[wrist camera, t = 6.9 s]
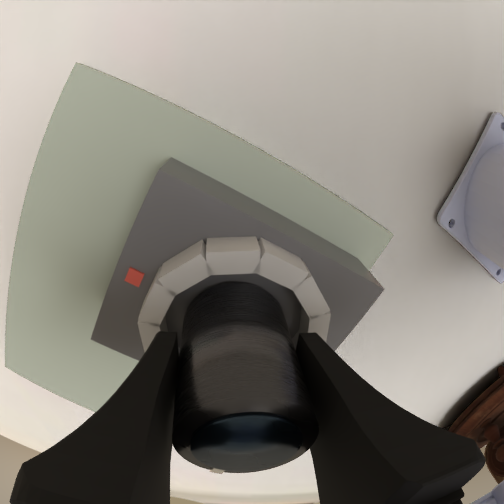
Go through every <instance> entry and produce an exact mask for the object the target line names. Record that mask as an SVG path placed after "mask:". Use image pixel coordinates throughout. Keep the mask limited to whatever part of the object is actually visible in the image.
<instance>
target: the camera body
mask: <svg viewBox="0 0 504 504" xmlns="http://www.w3.org/2000/svg"><path fill="white" fill-rule="evenodd" d="M224 283H247V284H251V285H255V286H257V287H260V288H262V289H264V290H266V291H267V292H269V293H270V294H271V295H272V296H273V297H274V298H275V299H276V300H277V301H278V302H279V304H280V306H281V308H282V310H283V313H284V316H285V319H286V322H287V326H288V329H289V332H290V335H291V338H292V341H293V344H294V347H295V351H296V346H297V341H298V337H299V333H314V332H316V333H317V334H318V335H319V336H320V337H321V338H322V339H323V340H324V341H325V342H326V343H327V344H328V345H329V346H330V347H331V348H332V349H333V350H334V351H335V350H336V349H337V348H338V346H339V345H340V344H341V343H342V342H343V341H344V339H345V338H346V337H347V336H348V335H349V333H350V332H351V331H352V330H353V328H354V327H355V326H356V325H357V324H358V322H359V321H360V320H361V319H362V317H363V316H364V315H365V314H366V312H367V311H368V310H369V308H370V307H371V306H372V305H373V303H374V302H375V301H376V299H377V298H378V297H379V295H380V294H381V293H382V291H383V290H384V288H383V287H382V286H381V284H380V283H379V282H378V281H377V280H376V279H375V277H374V276H373V275H372V274H371V273H370V272H369V271H368V269H367V268H366V267H365V266H364V265H363V264H362V262H361V261H360V260H359V259H358V258H356V257H354V256H353V255H351V254H349V253H348V252H346V251H344V250H342V249H341V248H339V247H337V246H336V245H334V244H332V243H330V242H329V241H327V240H325V239H323V238H322V237H320V236H318V235H316V234H315V233H313V232H311V231H309V230H308V229H306V228H304V227H302V226H300V225H299V224H297V223H295V222H293V221H292V220H290V219H288V218H286V217H284V216H282V215H281V214H279V213H277V212H275V211H273V210H272V209H270V208H268V207H266V206H264V205H262V204H261V203H259V202H257V201H255V200H253V199H251V198H249V197H247V196H246V195H244V194H242V193H240V192H238V191H236V190H234V189H232V188H231V187H229V186H227V185H225V184H223V183H221V182H219V181H217V180H215V179H213V178H211V177H209V176H207V175H206V174H204V173H202V172H200V171H198V170H196V169H194V168H192V167H190V166H188V165H186V164H184V163H182V162H180V161H178V160H176V159H174V158H172V157H171V158H170V159H169V160H168V161H167V162H166V163H165V164H164V165H163V166H162V167H161V168H160V169H159V170H158V172H157V174H156V176H155V178H154V180H153V182H152V184H151V186H150V189H149V191H148V193H147V195H146V197H145V199H144V201H143V204H142V206H141V208H140V210H139V212H138V215H137V217H136V219H135V222H134V224H133V226H132V228H131V231H130V233H129V236H128V238H127V240H126V243H125V245H124V248H123V250H122V253H121V255H120V258H119V260H118V263H117V265H116V268H115V270H114V273H113V276H112V278H111V281H110V284H109V286H108V289H107V292H106V295H105V297H104V300H103V303H102V306H101V309H100V312H99V315H98V318H97V321H96V324H95V327H94V330H93V333H92V336H91V340H93V341H95V342H97V343H99V344H101V345H104V346H106V347H108V348H110V349H112V350H115V351H117V352H119V353H122V354H124V355H126V356H129V357H131V358H133V359H136V360H138V361H140V359H141V358H142V356H143V355H144V353H145V352H146V350H147V349H148V347H149V345H150V344H151V342H152V340H153V339H154V337H155V335H156V333H158V332H159V331H165V332H177V338H178V352H179V353H180V344H181V336H182V327H183V319H184V315H185V312H186V310H187V307H188V306H189V304H190V303H191V302H192V301H193V299H194V298H195V297H196V296H198V295H199V294H200V293H202V292H203V291H205V290H207V289H209V288H211V287H213V286H216V285H220V284H224Z"/></svg>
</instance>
